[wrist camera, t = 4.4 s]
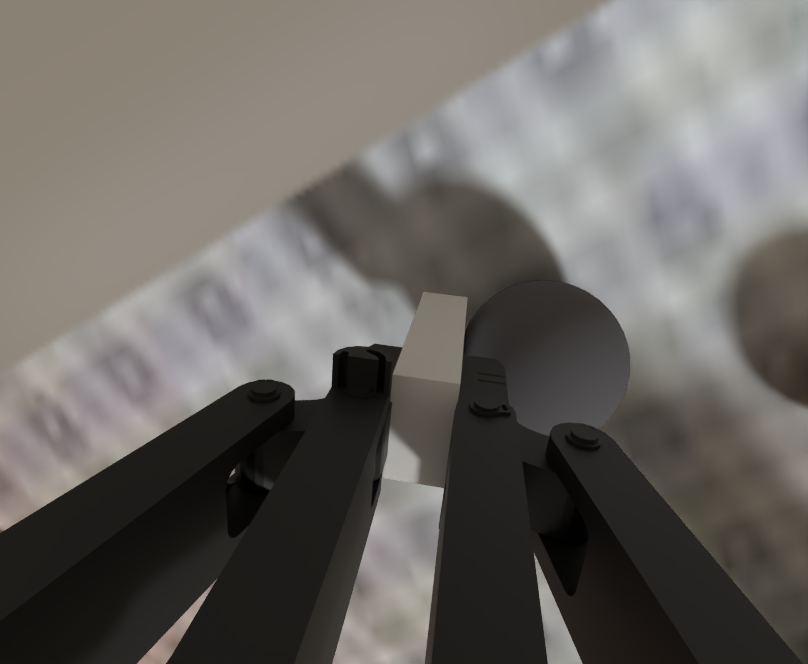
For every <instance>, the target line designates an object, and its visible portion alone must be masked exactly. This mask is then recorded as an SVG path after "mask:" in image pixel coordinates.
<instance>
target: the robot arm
mask: <svg viewBox="0 0 808 664" xmlns="http://www.w3.org/2000/svg"><path fill="white" fill-rule="evenodd" d="M467 298H468V297H461V296H453V295H445V294H437V293H429V292H423V295H422V297H421V300H420V303H419V305H418V308H417V311H416V313H415V316H414V319H413V321H412V324H411V327H410V329H409V332H408V335H407V337H406V340H405V343H404V345H403V348H402V347H394V346H387V345H380V344H373V345H371V346H370V347H363V346H354V347H346V348H343V349H340V350H338V351H336V352H335V353H334V354H333V369H332V387H331V389H330V391H329V393H328V394H327V396H326V398H323V399H318V400H298V401H295V390H294V389H293V388H292V387H291V386H290V385H287V384H285V383H283V382H278V381H274V380H265V379H264V380H257V381H254V382H249V383H246V384H244V385H241V386H239V387H237V388H236V389H234V390H233V391H231V392H229V393H228V394H226V395H224V396H223V397H221V398H220V399H218V400H216V401H215V402H213V403H211V404H210V405H208V406H207V407H205V408H203V409H202V410H200V411H198V412H197V413H195V414H194V415H192V416H190V417H189V418H187V419H185V420H184V421H182V422H181V423H179V424H177V425H176V426H174V427H172V428H171V429H169V430H168V431H166V432H164V433H163V434H161V435H159V436H158V437H156V438H155V439H153V440H151V441H150V442H148V443H146V444H145V445H143V446H142V447H140V448H138V449H137V450H135V451H133V452H132V453H130V454H129V455H127V456H125V457H124V458H122V459H120V460H119V461H117V462H115V463H114V464H112V465H111V466H109V467H107V468H106V469H104V470H102V471H101V472H99V473H98V474H96V475H94V476H93V477H91V478H89V479H88V480H86V481H85V482H83V483H81V484H80V485H78V486H76V487H75V488H73V489H72V490H70V491H68V492H67V493H65V494H63V495H62V496H60V497H59V498H57V499H55V500H54V501H52V502H50V503H49V504H47V505H46V506H44V507H42V508H41V509H39V510H37V511H36V512H34V513H33V514H31V515H29V516H28V517H26V518H24V519H23V520H21V521H20V522H18V523H16V524H15V525H13V526H11V527H10V528H8V529H7V530H5V531H3V532H2V533H0V664H137V663H138V662H139V661H140V659H141V658H142V657H143V656H144V655H145V654H146V653H147V652H148V651H149V650H150V649H151V648H152V647H153V646H154V645H155V644H156V643H157V641H158V640H159V639H160V638H161V637H162V636H163V635H164V634H165V633H166V632H167V631H168V630H169V629H170V628H171V627H172V626H173V625H174V623H175V622H176V621H177V620H178V619H179V618H180V617H181V616H182V615H183V614H184V613H185V612H186V611H187V610H188V609H189V608H190V607H191V606H192V604H193V603H194V602H195V601H196V600H197V599H198V598H199V597H200V596H201V595H202V594H203V593H204V592H205V591H206V590H207V589H208V588H209V586H210V585H211V584H212V583H213V582H214V581H215V580H216V579H217V578H218V579H217V580H216V582H215V584H214V585H213V587H212V589H211V590H210V592H209V594H208V596H207V597H206V599H205V601H204V602H203V604H202V606H201V607H200V609H199V611H198V612H197V614H196V616H195V617H194V619H193V621H192V622H191V624H190V626H189V627H188V629H187V631H186V632H185V634H184V636H183V637H182V639H181V641H180V642H179V644H178V646H177V648H176V649H175V651H174V653H173V654H172V656H171V657H170V659H169V660H168V661H167V663H166V664H332V662H333V658H334V655H335V651H336V648H337V644H338V641H339V637H340V634H341V630H342V626H343V623H344V619H345V616H346V612H347V609H348V605H349V602H350V598H351V594H352V591H353V587H354V584H355V580H356V577H357V573H358V570H359V566H360V562H361V559H362V555H363V552H364V548H365V545H366V541H367V538H368V534H369V530H370V527H371V523H372V520H373V516H374V513H375V509H376V506H377V502H378V498H379V495H380V491H381V479H382V472H383V468H384V476H383V478H386V479H392V480H398V481H404V482H410V483H417V484H423V485H429V486H435V487H441V488H444V494H443V501H442V508H441V515H440V522H439V538H438V547H437V556H436V566H435V575H434V584H433V593H432V603H431V612H430V621H429V630H428V640H427V649H426V658H425V664H548V662H547V654H546V647H545V639H544V631H543V623H542V615H541V607H540V599H539V591H538V583H537V575H536V567H535V559H534V553H535V555H536V558H537V560H538V562H539V564H540V567H541V569H542V571H543V574H544V576H545V578H546V580H547V583H548V585H549V587H550V590H551V592H552V594H553V596H554V599H555V601H556V603H557V606H558V608H559V610H560V613H561V615H562V617H563V619H564V622H565V624H566V626H567V629H568V631H569V633H570V635H571V638H572V640H573V642H574V645H575V647H576V649H577V651H578V654H579V656H580V658H581V661H582V663H583V664H803V663H802V662H801V661H800V660H799V659H798V658H797V656H796V655H795V654H794V653H793V652H792V650H791V649H790V648H789V647H788V646H787V645H786V643H785V642H784V641H783V640H782V639H781V637H780V636H779V635H778V634H777V633H776V632H775V630H774V629H773V628H772V627H771V626H770V624H769V623H768V622H767V621H766V620H765V619H764V617H763V616H762V615H761V614H760V613H759V611H758V610H757V609H756V608H755V607H754V606H753V604H752V603H751V602H750V601H749V600H748V598H747V597H746V596H745V595H744V594H743V593H742V591H741V590H740V589H739V588H738V587H737V585H736V584H735V583H734V582H733V581H732V580H731V578H730V577H729V576H728V575H727V574H726V572H725V571H724V570H723V569H722V568H721V566H720V565H719V564H718V563H717V562H716V561H715V559H714V558H713V557H712V556H711V555H710V553H709V552H708V551H707V550H706V549H705V548H704V546H703V545H702V544H701V543H700V542H699V540H698V539H697V538H696V537H695V536H694V535H693V533H692V532H691V531H690V530H689V529H688V527H687V526H686V525H685V524H684V523H683V522H682V520H681V519H680V518H679V517H678V516H677V514H676V513H675V512H674V511H673V510H672V509H671V507H670V506H669V505H668V504H667V503H666V501H665V500H664V499H663V498H662V497H661V496H660V494H659V493H658V492H657V491H656V490H655V488H654V487H653V486H652V485H651V484H650V483H649V481H648V480H647V479H646V478H645V477H644V475H643V474H642V473H641V472H640V471H639V470H638V468H637V467H636V466H635V465H634V464H633V462H632V461H631V460H630V459H629V458H628V457H627V455H626V454H625V453H624V452H623V451H622V449H621V448H620V447H619V446H618V445H617V444H616V442H615V441H614V440H613V439H612V438H611V437H609V436H608V435H607V434H606V433H604V432H602V431H600V430H598V429H596V428H595V427H593V426H590V425H588V426H587V424H583V423H571V422H569V423H560V424H558V425H556V426H553V428H552V430H551V431H550V435H549V436H547V435H544V434H541V433H538V432H535V431H533V430H530V429H528V428H526V427H524V426H522V425H521V424H519V423H518V422H517V417H516V412H515V410H514V408H513V407H512V406H510V405H509V400H508V391H507V382H506V372H505V367H504V366H503V365H502V364H501V363H500V362H499V361H498V360H497V359H492V358H485V357H478V356H470V355H463V346H464V334H465V322H466V310H467ZM234 468H235V473H234V474H233V475H232V476H231V477H230V474H231V472H232V471H233V469H234ZM229 477H230V478H229Z"/></svg>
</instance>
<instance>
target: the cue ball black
mask: <svg viewBox="0 0 808 664" xmlns="http://www.w3.org/2000/svg"><path fill="white" fill-rule="evenodd" d="M463 355H470V356H478V357H485V358H492V359H497V360H498V361H499V362H500V363H501V364H502V365H503V366H504V367H505V372H506V382H507V391H508V400H509V405H510V406H512V407H513V408H514V410H515V412H516V417H517V422H518V423H519V424H521V425H522V426H524V427H526V428H528V429H530V430H533V431H535V432H538V433H541V434H544V435H547V436H549V435H550V431H551V430H552V428H553V426H556V425H558V424H560V423H569V422H571V423H583V424H587V426H588V425H590V426H593V427H595V428H596V429H598V428H600V427H601V426H602V425H603V424H604V423H605V422H606V421H607V420H608V419H609V418H610V417H611V416H612V415H613V413H614V412H615V411H616V409H617V408H618V406H619V404H620V403H621V401H622V399H623V397H624V394H625V391H626V388H627V385H628V381H629V376H630V353H629V348H628V344H627V341H626V338H625V335H624V332H623V330H622V328H621V326H620V324H619V322H618V321H617V319H616V318H615V316H614V315H613V314H612V312H611V311H610V310H609V309H608V308H607V307H606V306H605V305H604V304H603V303H602V302H601V301H600V300H598V299H597V298H596V297H594V296H593V295H591V294H590V293H588V292H587V291H585V290H583V289H580V288H578V287H576V286H573V285H570V284H567V283H563V282H557V281H549V280H537V281H530V282H524V283H520V284H517V285H514V286H511V287H509V288H507V289H505V290H503V291H501V292H499V293H497V294H496V295H494V296H493V297H492V298H490V299H489V300H488V301H487V302H486V303H484V304H483V305H482V306H481V307H480V309H479V310H478V311H477V312H476V313H475V315H474V316H473V318H472V319H471V321H470V323H469V325H468V327H467V329H466V331H465V334H464V346H463Z"/></svg>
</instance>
